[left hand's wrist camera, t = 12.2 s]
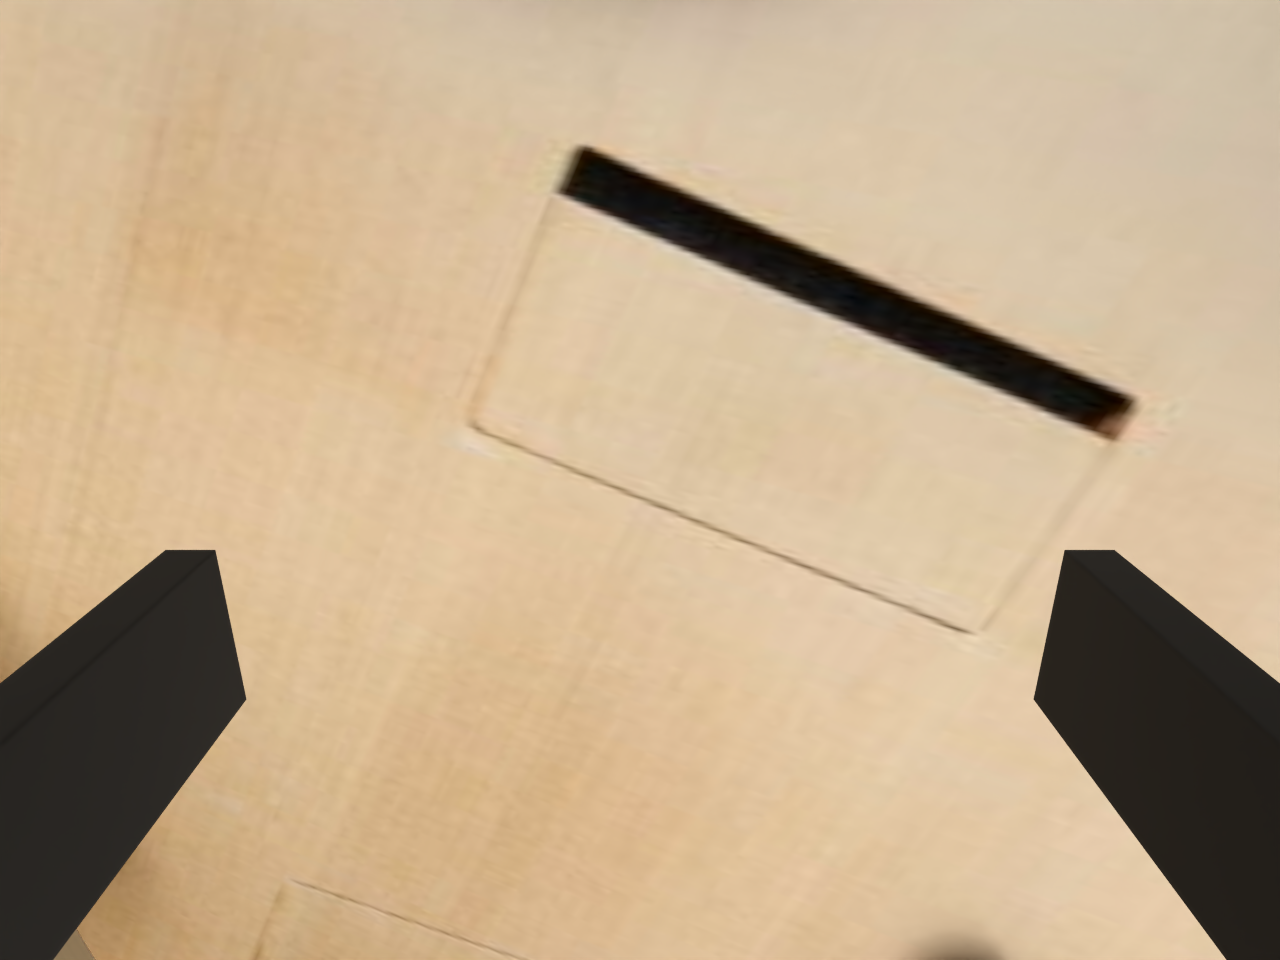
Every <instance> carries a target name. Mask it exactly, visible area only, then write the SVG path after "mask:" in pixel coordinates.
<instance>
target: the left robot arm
mask: <svg viewBox="0 0 1280 960" xmlns="http://www.w3.org/2000/svg"><path fill="white" fill-rule="evenodd" d="M245 700H246V695H245V691H244V686H243V681H242V676H241V671H240V667H239V662H238V657H237V652H236V647H235V643H234V638H233V633H232V628H231V623H230V619H229V614H228V609H227V604H226V599H225V595H224V590H223V585H222V580H221V575H220V570H219V566H218V561H217V556H216V551H215V550H165V551H164V552H163V553H161V554H160V555H159V556H158V557H156V558H155V559H154V560H153V561H152V562H150V563H149V564H148V565H147V566H145V567H144V568H143V569H142V570H140V571H139V572H138V573H137V574H135V575H134V576H133V577H132V578H130V579H129V580H128V581H127V582H125V583H124V584H123V585H122V586H121V587H119V588H118V589H117V590H116V591H114V592H113V593H112V594H111V595H109V596H108V597H107V598H106V599H104V600H103V601H102V602H101V603H99V604H98V605H97V606H96V607H94V608H93V609H92V610H91V611H89V612H88V613H87V614H86V615H85V616H83V617H82V618H81V619H80V620H78V621H77V622H76V623H75V624H73V625H72V626H71V627H70V628H68V629H67V630H66V631H65V632H63V633H62V634H61V635H60V636H58V637H57V638H56V639H55V640H54V641H52V642H51V643H50V644H49V645H47V646H46V647H45V648H44V649H42V650H41V651H40V652H39V653H37V654H36V655H35V656H34V657H32V658H31V659H30V660H29V661H27V662H26V663H25V664H24V665H23V666H21V667H20V668H19V669H18V670H16V671H15V672H14V673H13V674H11V675H10V676H9V677H8V678H6V679H5V680H4V681H3V682H1V683H0V960H54V958H55V957H56V956H57V954H58V953H59V952H60V950H61V949H62V948H63V946H64V945H65V943H66V942H67V941H68V939H69V938H70V937H71V935H72V934H73V933H74V931H75V930H76V929H77V927H78V926H79V925H80V923H81V922H82V921H83V919H84V918H85V916H86V915H87V914H88V912H89V911H90V910H91V908H92V907H93V906H94V904H95V903H96V902H97V900H98V899H99V898H100V896H101V895H102V894H103V892H104V891H105V889H106V888H107V887H108V885H109V884H110V883H111V881H112V880H113V879H114V877H115V876H116V875H117V873H118V872H119V871H120V869H121V868H122V867H123V865H124V864H125V862H126V861H127V860H128V858H129V857H130V856H131V854H132V853H133V852H134V850H135V849H136V848H137V846H138V845H139V844H140V842H141V841H142V840H143V838H144V837H145V835H146V834H147V833H148V831H149V830H150V829H151V827H152V826H153V825H154V823H155V822H156V821H157V819H158V818H159V817H160V815H161V814H162V813H163V811H164V810H165V808H166V807H167V806H168V804H169V803H170V802H171V800H172V799H173V798H174V796H175V795H176V794H177V792H178V791H179V790H180V788H181V787H182V785H183V784H184V783H185V781H186V780H187V779H188V777H189V776H190V775H191V773H192V772H193V771H194V769H195V768H196V767H197V765H198V764H199V763H200V761H201V760H202V758H203V757H204V756H205V754H206V753H207V752H208V750H209V749H210V748H211V746H212V745H213V744H214V742H215V741H216V740H217V738H218V737H219V736H220V734H221V733H222V731H223V730H224V729H225V727H226V726H227V725H228V723H229V722H230V721H231V719H232V718H233V717H234V715H235V714H236V713H237V711H238V710H239V709H240V707H241V706H242V704H243V703H244V702H245ZM1034 700H1035V702H1036V703H1037V704H1038V706H1039V707H1040V709H1041V710H1042V711H1043V713H1044V714H1045V715H1046V717H1047V718H1048V719H1049V721H1050V722H1051V723H1052V725H1053V726H1054V727H1055V729H1056V730H1057V731H1058V733H1059V734H1060V736H1061V737H1062V738H1063V740H1064V741H1065V742H1066V744H1067V745H1068V746H1069V748H1070V749H1071V750H1072V752H1073V753H1074V754H1075V756H1076V757H1077V758H1078V760H1079V761H1080V763H1081V764H1082V765H1083V767H1084V768H1085V769H1086V771H1087V772H1088V773H1089V775H1090V776H1091V777H1092V779H1093V780H1094V781H1095V783H1096V784H1097V785H1098V787H1099V788H1100V790H1101V791H1102V792H1103V794H1104V795H1105V796H1106V798H1107V799H1108V800H1109V802H1110V803H1111V804H1112V806H1113V807H1114V808H1115V810H1116V811H1117V813H1118V814H1119V815H1120V817H1121V818H1122V819H1123V821H1124V822H1125V823H1126V825H1127V826H1128V827H1129V829H1130V830H1131V831H1132V833H1133V834H1134V835H1135V837H1136V838H1137V840H1138V841H1139V842H1140V844H1141V845H1142V846H1143V848H1144V849H1145V850H1146V852H1147V853H1148V854H1149V856H1150V857H1151V858H1152V860H1153V861H1154V862H1155V864H1156V865H1157V867H1158V868H1159V869H1160V871H1161V872H1162V873H1163V875H1164V876H1165V877H1166V879H1167V880H1168V881H1169V883H1170V884H1171V885H1172V887H1173V888H1174V889H1175V891H1176V892H1177V894H1178V895H1179V896H1180V898H1181V899H1182V900H1183V902H1184V903H1185V904H1186V906H1187V907H1188V908H1189V910H1190V911H1191V912H1192V914H1193V915H1194V916H1195V918H1196V919H1197V921H1198V922H1199V923H1200V925H1201V926H1202V927H1203V929H1204V930H1205V931H1206V933H1207V934H1208V935H1209V937H1210V938H1211V939H1212V941H1213V942H1214V943H1215V945H1216V946H1217V948H1218V949H1219V950H1220V952H1221V953H1222V954H1223V956H1224V957H1225V958H1226V960H1280V683H1279V682H1277V681H1276V680H1275V679H1274V678H1272V677H1271V676H1270V675H1269V674H1267V673H1266V672H1265V671H1264V670H1262V669H1261V668H1260V667H1259V666H1257V665H1256V664H1255V663H1254V662H1253V661H1251V660H1250V659H1249V658H1248V657H1246V656H1245V655H1244V654H1243V653H1241V652H1240V651H1239V650H1238V649H1236V648H1235V647H1234V646H1233V645H1231V644H1230V643H1229V642H1228V641H1226V640H1225V639H1224V638H1223V637H1222V636H1220V635H1219V634H1218V633H1217V632H1215V631H1214V630H1213V629H1212V628H1210V627H1209V626H1208V625H1207V624H1205V623H1204V622H1203V621H1202V620H1200V619H1199V618H1198V617H1197V616H1195V615H1194V614H1193V613H1192V612H1191V611H1189V610H1188V609H1187V608H1186V607H1184V606H1183V605H1182V604H1181V603H1179V602H1178V601H1177V600H1176V599H1174V598H1173V597H1172V596H1171V595H1169V594H1168V593H1167V592H1166V591H1164V590H1163V589H1162V588H1161V587H1159V586H1158V585H1157V584H1156V583H1155V582H1153V581H1152V580H1151V579H1150V578H1148V577H1147V576H1146V575H1145V574H1143V573H1142V572H1141V571H1140V570H1138V569H1137V568H1136V567H1135V566H1133V565H1132V564H1131V563H1130V562H1128V561H1127V560H1126V559H1125V558H1124V557H1122V556H1121V555H1120V554H1119V553H1117V552H1116V551H1115V550H1065V551H1064V556H1063V561H1062V566H1061V570H1060V575H1059V580H1058V585H1057V590H1056V595H1055V599H1054V604H1053V609H1052V614H1051V619H1050V623H1049V628H1048V633H1047V638H1046V643H1045V647H1044V652H1043V657H1042V662H1041V667H1040V671H1039V676H1038V681H1037V686H1036V691H1035V695H1034Z"/></svg>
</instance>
